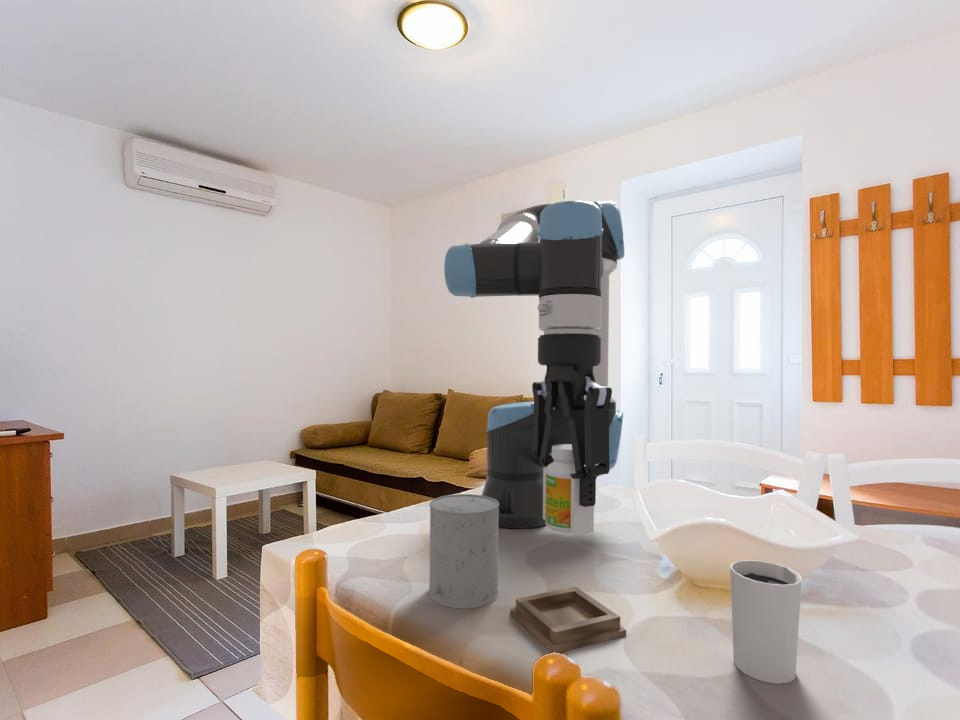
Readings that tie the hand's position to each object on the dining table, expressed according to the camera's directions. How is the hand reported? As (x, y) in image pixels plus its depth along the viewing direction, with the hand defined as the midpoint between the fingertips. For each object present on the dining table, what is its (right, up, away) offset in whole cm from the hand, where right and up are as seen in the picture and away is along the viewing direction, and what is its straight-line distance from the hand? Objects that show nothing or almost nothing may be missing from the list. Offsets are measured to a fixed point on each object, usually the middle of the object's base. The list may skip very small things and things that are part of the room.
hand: (567, 524), depth 65 cm
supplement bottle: (0, -1, 0) cm, 1 cm away
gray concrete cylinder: (-13, -12, +9) cm, 20 cm away
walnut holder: (0, -12, 0) cm, 12 cm away
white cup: (+19, -13, -9) cm, 24 cm away
